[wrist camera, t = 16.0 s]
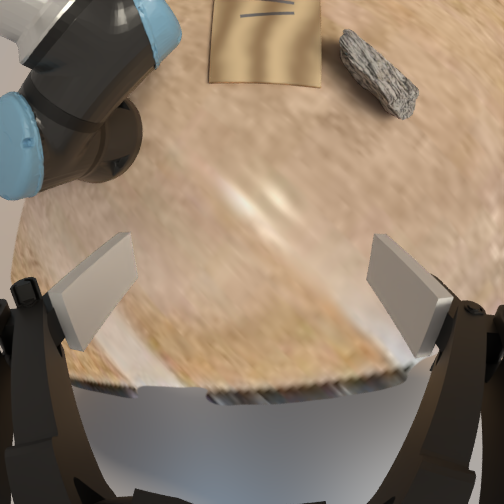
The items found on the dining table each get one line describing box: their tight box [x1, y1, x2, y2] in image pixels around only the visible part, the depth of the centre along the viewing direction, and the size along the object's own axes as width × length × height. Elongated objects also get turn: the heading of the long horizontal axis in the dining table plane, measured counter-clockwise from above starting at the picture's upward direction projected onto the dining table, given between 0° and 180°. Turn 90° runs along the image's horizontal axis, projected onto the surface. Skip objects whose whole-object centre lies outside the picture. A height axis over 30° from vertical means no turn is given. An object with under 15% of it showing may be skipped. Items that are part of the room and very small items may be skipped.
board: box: [209, 0, 321, 88], centre depth 29 cm, size 16×26×1 cm, turn 178°
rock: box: [339, 29, 419, 120], centre depth 30 cm, size 16×8×10 cm, turn 38°
